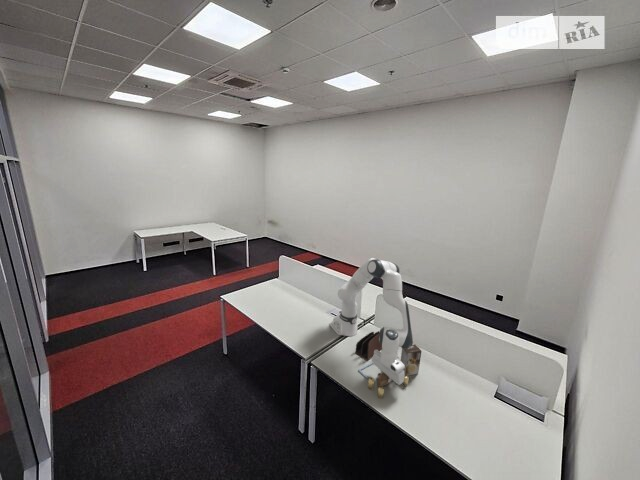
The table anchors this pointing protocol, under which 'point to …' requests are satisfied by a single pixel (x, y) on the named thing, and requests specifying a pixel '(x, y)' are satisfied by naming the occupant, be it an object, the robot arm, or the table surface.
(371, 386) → the spacers
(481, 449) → the table surface
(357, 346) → the letter holder
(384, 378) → the brown flat block
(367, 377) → the bay
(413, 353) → the coffee box
